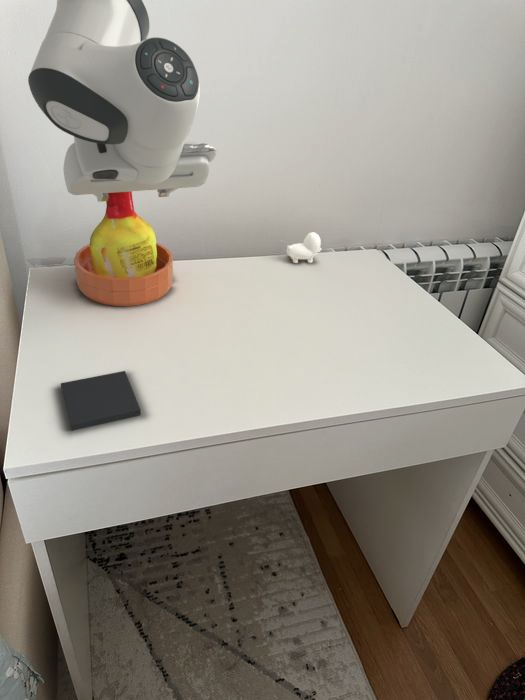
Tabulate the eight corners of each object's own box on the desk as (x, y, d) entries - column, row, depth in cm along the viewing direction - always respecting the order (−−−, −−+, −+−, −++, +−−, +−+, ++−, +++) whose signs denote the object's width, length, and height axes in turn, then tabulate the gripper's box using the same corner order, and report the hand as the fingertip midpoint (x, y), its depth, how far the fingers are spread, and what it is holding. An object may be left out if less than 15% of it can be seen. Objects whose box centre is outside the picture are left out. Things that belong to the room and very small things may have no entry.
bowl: (87, 313, 91) (83, 285, 88) (71, 268, 104) (67, 242, 101) (184, 299, 98) (184, 272, 95) (158, 258, 111) (157, 233, 107)
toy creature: (323, 264, 115) (327, 237, 111) (287, 265, 113) (290, 237, 110) (316, 255, 119) (321, 228, 115) (282, 255, 117) (285, 228, 113)
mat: (71, 430, 69) (70, 425, 68) (61, 388, 75) (60, 383, 75) (140, 415, 72) (140, 409, 72) (125, 376, 79) (125, 370, 78)
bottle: (96, 292, 96) (84, 181, 84) (90, 276, 101) (78, 169, 89) (161, 283, 100) (159, 177, 89) (152, 268, 105) (149, 166, 94)
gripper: (214, 124, 75) (192, 172, 87) (61, 127, 67) (60, 179, 79) (225, 166, 74) (200, 208, 87) (71, 174, 66) (69, 219, 79)
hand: (132, 194), depth 83 cm, fingers open, 8 cm apart
